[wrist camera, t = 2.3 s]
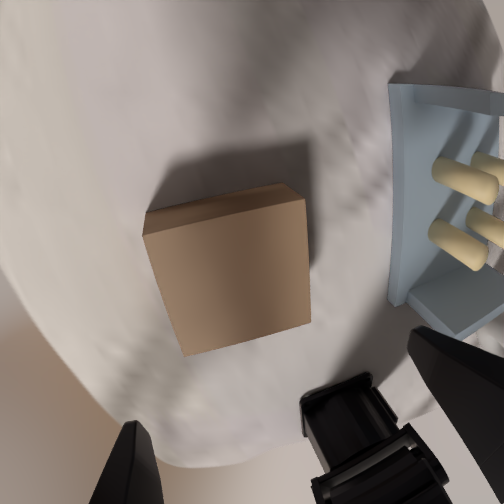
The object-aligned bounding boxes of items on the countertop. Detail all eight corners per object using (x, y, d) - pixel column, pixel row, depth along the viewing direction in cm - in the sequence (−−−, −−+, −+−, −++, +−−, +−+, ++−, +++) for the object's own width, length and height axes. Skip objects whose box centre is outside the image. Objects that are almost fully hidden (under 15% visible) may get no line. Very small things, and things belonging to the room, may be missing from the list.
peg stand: (387, 299, 20) (440, 353, 15) (387, 83, 14) (477, 91, 9) (474, 259, 22) (524, 295, 17) (487, 90, 15) (555, 104, 10)
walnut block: (179, 319, 17) (184, 356, 15) (146, 210, 14) (142, 235, 11) (290, 291, 18) (311, 322, 16) (280, 181, 15) (305, 198, 13)
